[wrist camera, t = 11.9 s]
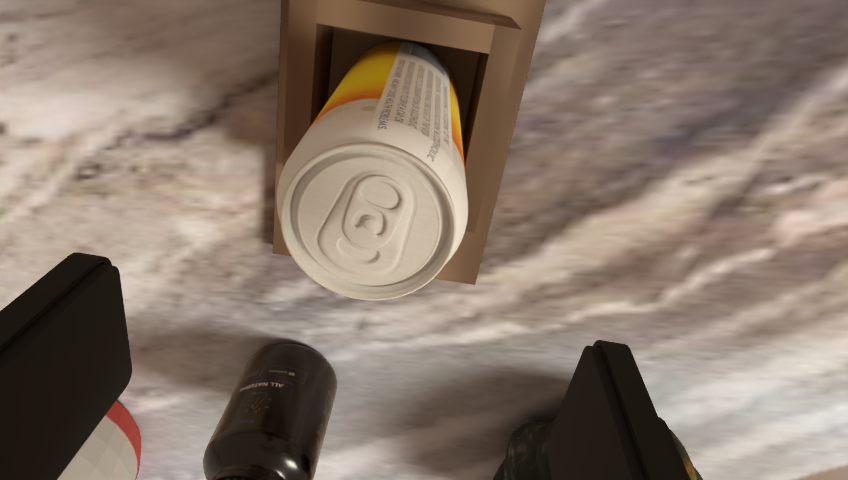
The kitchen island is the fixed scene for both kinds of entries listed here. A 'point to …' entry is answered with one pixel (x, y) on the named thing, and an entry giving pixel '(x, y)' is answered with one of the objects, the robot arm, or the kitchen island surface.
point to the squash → (528, 459)
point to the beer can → (379, 178)
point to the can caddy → (458, 49)
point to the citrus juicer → (108, 450)
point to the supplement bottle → (274, 417)
